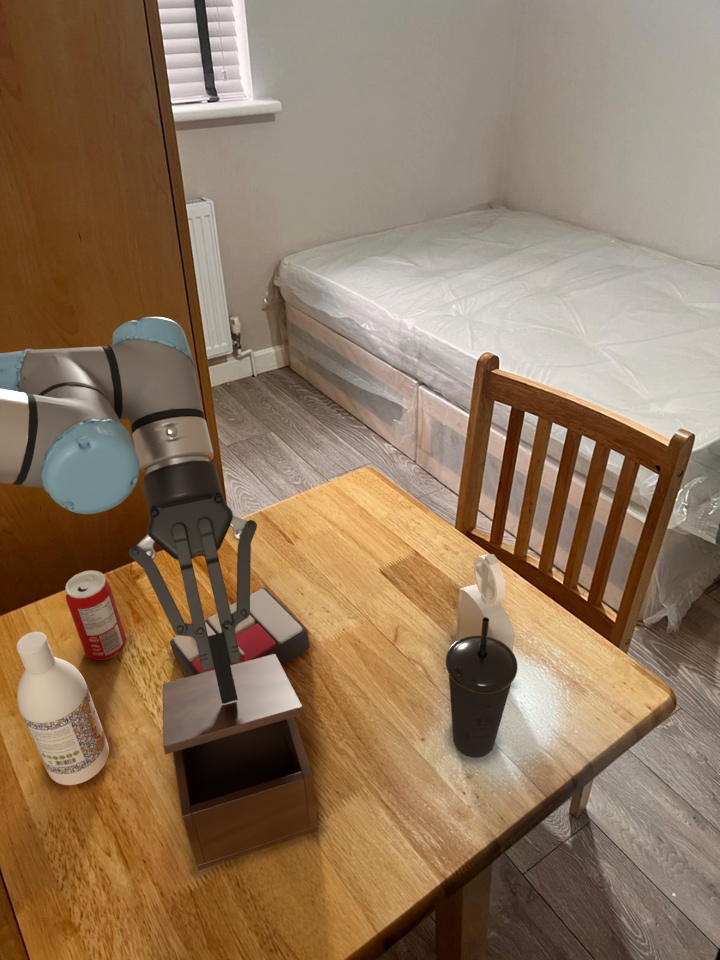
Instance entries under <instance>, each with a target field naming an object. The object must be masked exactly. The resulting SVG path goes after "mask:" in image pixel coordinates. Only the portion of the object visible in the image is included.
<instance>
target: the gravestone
mask: <svg viewBox="0 0 720 960" xmlns="http://www.w3.org/2000/svg"><path fill="white" fill-rule="evenodd" d="M473 576H474V580H475V584H471V585H468V586H464V587H461V588H459V589H458V601H457V603H458V604H457V613H456V614H457V615H456V630H455V642H456V641H458V640H460V639H462V638H465V637H468V636H481V630H482V620H483V618H484V617H487V618H489V627H488V636H487V637H491V638H494V639H497V640H499V641H501V642H502V643H504V644H505V645H506V646H508V647H509V648H510V649H511V651H512V652H513V653H514V644H515V637H516V633H515V629H514V627H513V625H512V622H511V620H510V617H509V615H508V614H507V611H506V610H505V608H504V607H503V605H502V603H501V602H503V601H504V600H505V599H506V594H507V585H506V580H505V577H504V576H505V575H504V574H503V569H502V568H501V566H500V564H499V559H498V558H497V557H496V555H495V554H494V553H490V554H488V553H487V554H483V555H479V556H477V557H476V558H474V562H473Z"/></svg>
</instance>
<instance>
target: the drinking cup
mask: <svg viewBox="0 0 720 960" xmlns="http://www.w3.org/2000/svg"><path fill="white" fill-rule="evenodd" d="M488 627H489V618H487V617H484V618H483V620H482V630H481V636H468V637H465V638H462V639H460V640H458V641H456V640H455V642H454V643H452V645H451V646H450V647H449V648H448V650H447V652H446V655H445V669H446V672H447V673H448V684H449V698H450V714H451V715H450V716H451V725H452V727H451V729H452V741H453V744H454V747H455V748H456V749H457V751H459V752H460V754H462V755H464V756H466V757H469V758H475V759H476V758H477V759H478V758H483V757H486V756H487V755H489V754H490V753H491V752H492V751H493V749H494V747H495V743H496V740H497V736H498V732H499V729H500V726H501V722H502V719H503V715H504V710H505V707H506V704H507V701H508V696H509V693H510V690H511V686H512V683H513V682H514V681H515V679H516V676H517V673H518V660H517V658H516V654H514V651H513V652H512V651H511V649H510V648H509V647H508V646H506V645H505V644H504V643H502V642H501V641H499V640H497V639H494V638H491V637H487V636H488Z"/></svg>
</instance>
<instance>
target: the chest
mask: <svg viewBox="0 0 720 960" xmlns="http://www.w3.org/2000/svg"><path fill="white" fill-rule="evenodd" d="M172 756H173V762H174V768H175V769H174V770H175V776H176V784H177V792H178V798H179V804H180V812H181V818H182V821H183V824H184V828H185V831H186V835H187V838H188V842H189V845H190V848H191V852H192V855H193V858H194V862H195V866H196V870H197V871H201V870H204V869H208V868H210V867H212V866H216V865H219V864H222V863H225V862H228V861H231V860H235V859H238V858H240V857H244V856H247V855H249V854H252V853H256V852H258V851H261V850H264V849H267V848H270V847H273V846H277V845H279V844H282V843H285V842H288V841H291V840H294V839H298V838H300V837H303V836H306V835H309V834H312V833H315V832H318V831H319V821H318V813H317V812H318V811H317V803H316V793H315V792H316V791H315V784H314V776H313V775H314V774H313V773H312V769H311V765H310V763H309V760H308V755H307V753H306V750H305V746H304V743H303V740H302V737H301V733H300V731H299V726H298V724H297V721H296V718H295V717H292V718H289V719H286V720H282V721H279V722H275V723H272V724H268V725H265V726H261V727H258V728H255V729H251V730H248V731H244V732H241V733H237V734H234V735H230V736H227V737H224V738H220V739H217V740H213V741H210V742H206V743H203V744H199V745H196V746H193V747H189V748H186V749H182V750H179V751H175V752H172Z"/></svg>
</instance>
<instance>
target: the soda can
mask: <svg viewBox="0 0 720 960" xmlns="http://www.w3.org/2000/svg"><path fill="white" fill-rule="evenodd" d="M64 588H65V600H66V604H67V607H68V609H69V611H70V615H71V617H72V618H71V619H72V620H73V623H74V626H75V630H76V632H77V635H78V637H79V640H80V642H81V646H82V649H83V652H84V654H85V655H86V656H87V658H89V659H91V660H95V661H105V660H109V659H112V658H113V657H115V656H117V655H118V654H120V653H121V651H122V650H123V648H124V647H125V646H126V642H127V638H126V633H125V631H124V627H123V624H122V621H121V617H120V614H119V610H118V607H117V604H116V601H115V598H114V594H113V591H112V587H111V584H110V582H109V580H107V578H106V577H105V574H103V572H101V571H98V570H92V569H91V570H84V571H82V572H79V573H77V574H75V575H73V576H72V577H71V578H70V579H68V581H67V582H66V584H65V587H64Z"/></svg>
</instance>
